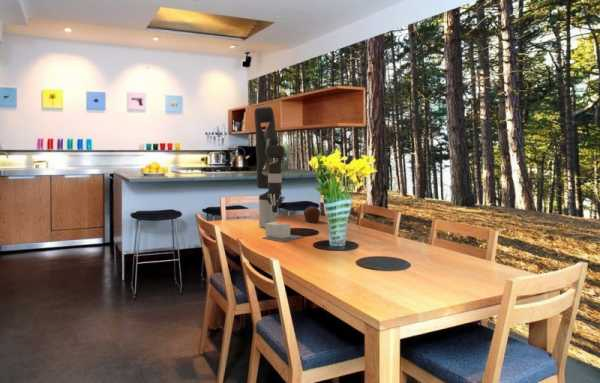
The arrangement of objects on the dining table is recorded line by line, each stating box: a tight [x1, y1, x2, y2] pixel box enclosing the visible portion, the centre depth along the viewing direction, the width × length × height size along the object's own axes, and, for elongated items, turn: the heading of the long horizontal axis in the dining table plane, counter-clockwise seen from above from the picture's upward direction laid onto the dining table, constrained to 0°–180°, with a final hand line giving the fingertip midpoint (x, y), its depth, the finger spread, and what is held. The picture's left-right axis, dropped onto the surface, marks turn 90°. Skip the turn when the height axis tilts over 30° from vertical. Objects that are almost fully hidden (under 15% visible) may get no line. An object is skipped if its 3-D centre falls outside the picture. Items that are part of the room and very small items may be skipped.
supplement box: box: [264, 221, 291, 239], centre depth 269 cm, size 7×7×13 cm
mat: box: [262, 233, 304, 243], centre depth 269 cm, size 17×15×1 cm
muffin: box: [303, 206, 321, 224], centre depth 326 cm, size 12×11×10 cm
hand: (274, 212), depth 270 cm, fingers closed
